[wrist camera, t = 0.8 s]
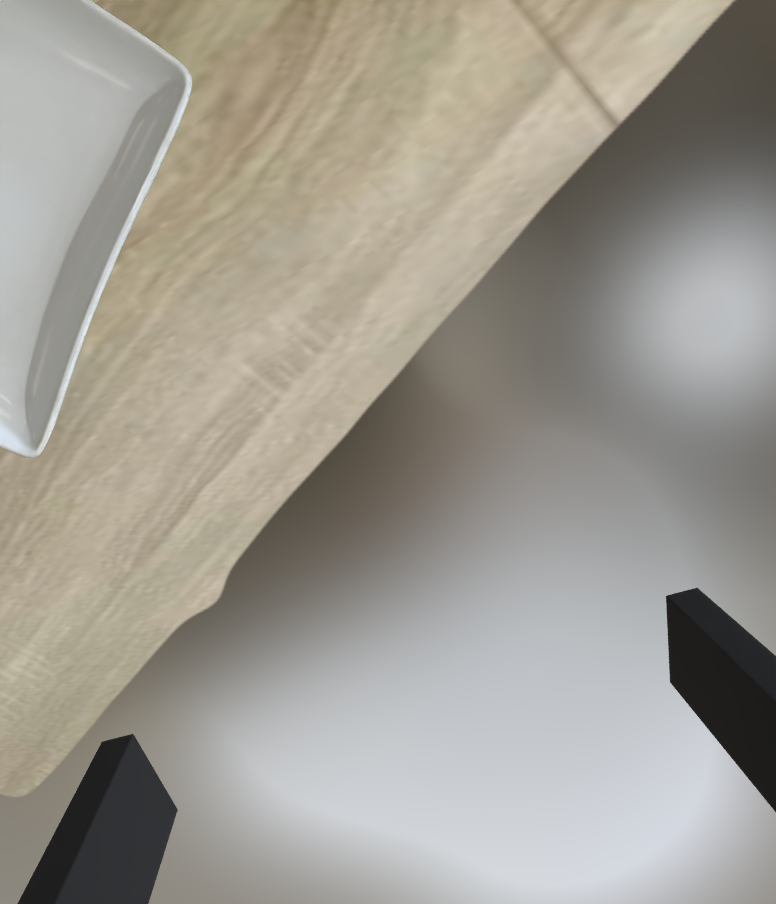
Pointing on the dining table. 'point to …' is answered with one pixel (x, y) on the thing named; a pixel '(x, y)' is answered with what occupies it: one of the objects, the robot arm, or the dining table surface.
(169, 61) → the square plate
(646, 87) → the dining table surface
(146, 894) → the robot arm
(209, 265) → the dining table surface
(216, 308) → the dining table surface
